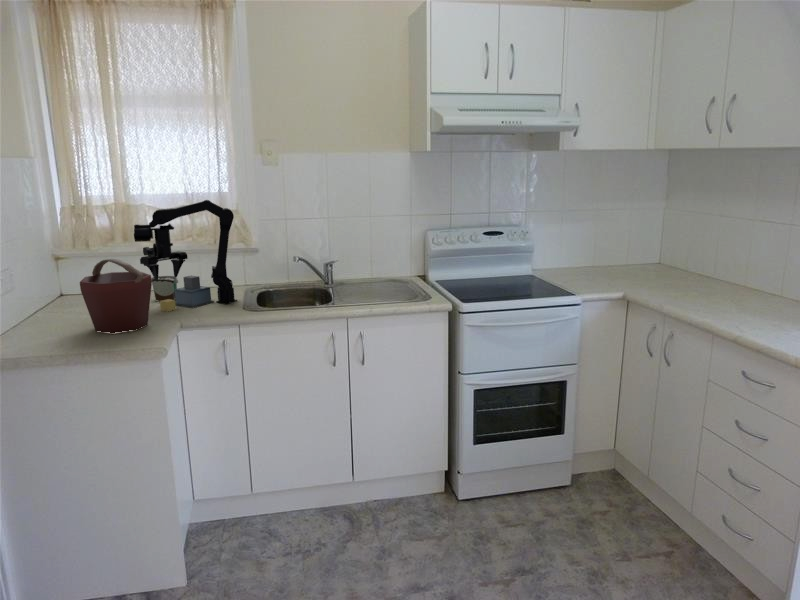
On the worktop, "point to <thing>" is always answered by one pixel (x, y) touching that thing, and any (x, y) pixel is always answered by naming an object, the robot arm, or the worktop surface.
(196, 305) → the mat
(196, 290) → the cover
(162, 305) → the block
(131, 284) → the bucket
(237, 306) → the worktop surface
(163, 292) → the food container
